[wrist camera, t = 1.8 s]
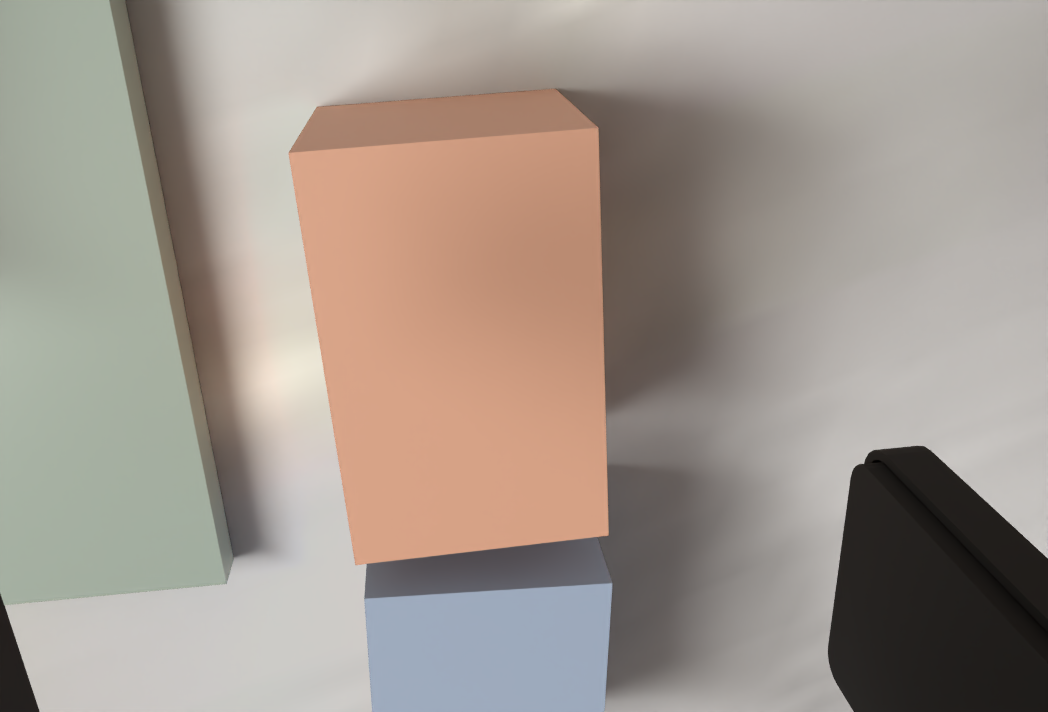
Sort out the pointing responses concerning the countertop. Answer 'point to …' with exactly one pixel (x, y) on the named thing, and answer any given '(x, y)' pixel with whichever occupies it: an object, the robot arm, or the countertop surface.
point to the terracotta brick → (459, 318)
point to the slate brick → (491, 630)
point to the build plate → (93, 327)
